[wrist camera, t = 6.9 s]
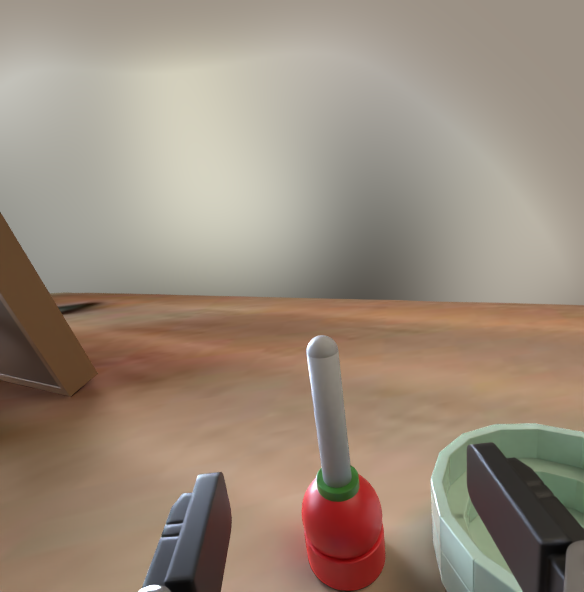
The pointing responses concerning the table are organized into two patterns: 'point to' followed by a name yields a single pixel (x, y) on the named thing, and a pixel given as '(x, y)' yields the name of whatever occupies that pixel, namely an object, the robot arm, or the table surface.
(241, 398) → the table surface
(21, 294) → the photo frame
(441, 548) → the bowl
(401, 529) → the table surface
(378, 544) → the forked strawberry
